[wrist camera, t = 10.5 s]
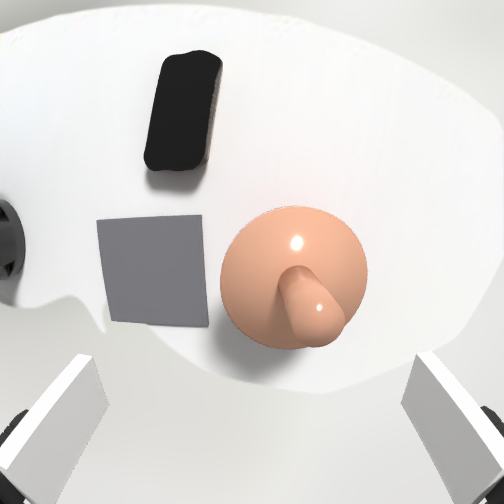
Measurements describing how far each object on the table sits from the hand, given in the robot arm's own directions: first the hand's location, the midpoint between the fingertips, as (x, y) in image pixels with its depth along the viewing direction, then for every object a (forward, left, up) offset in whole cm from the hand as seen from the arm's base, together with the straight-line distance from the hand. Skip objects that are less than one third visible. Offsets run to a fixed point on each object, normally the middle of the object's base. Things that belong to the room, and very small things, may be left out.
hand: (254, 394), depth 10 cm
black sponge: (-9, +18, -31) cm, 36 cm away
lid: (+3, -2, -18) cm, 18 cm away
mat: (-16, -5, -30) cm, 34 cm away
